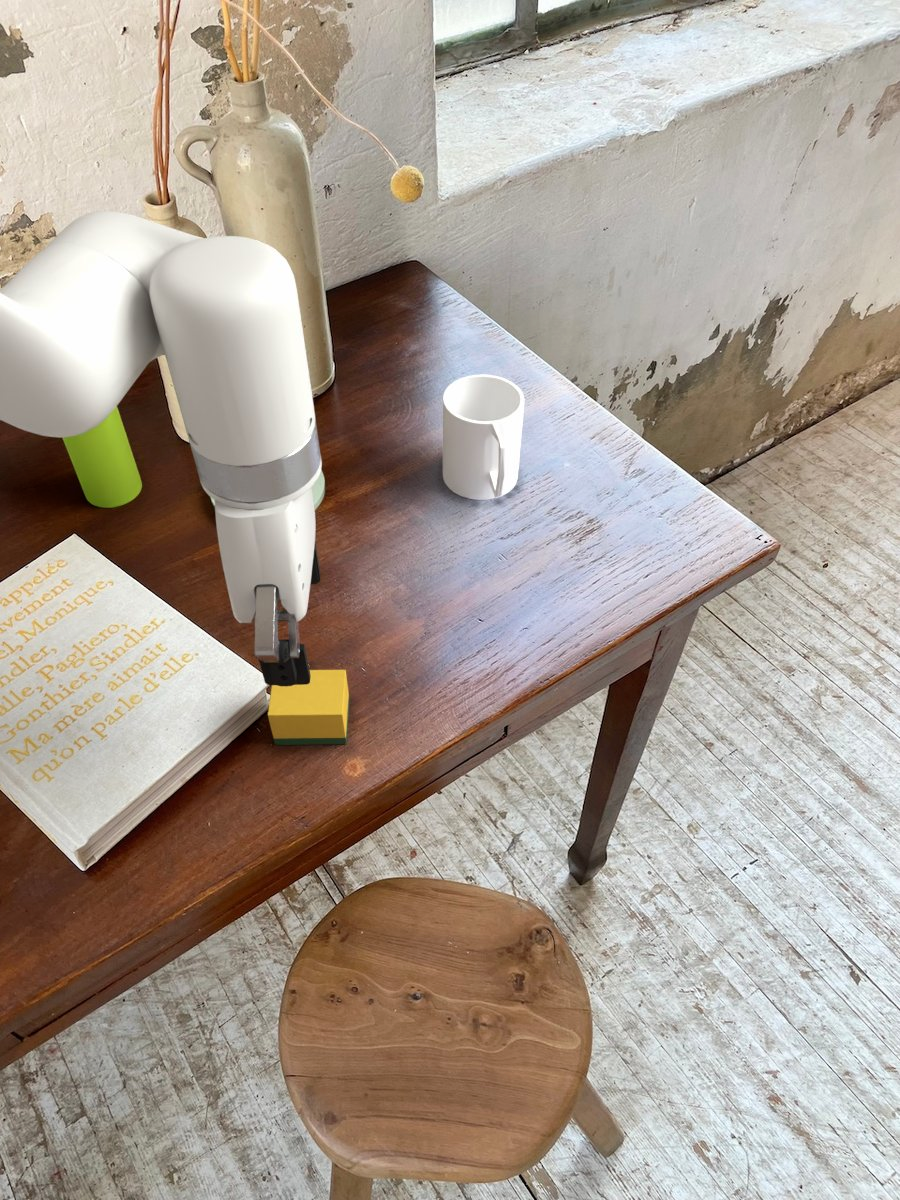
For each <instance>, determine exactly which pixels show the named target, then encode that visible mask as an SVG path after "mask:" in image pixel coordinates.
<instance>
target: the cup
mask: <svg viewBox="0 0 900 1200" xmlns="http://www.w3.org/2000/svg"><path fill="white" fill-rule="evenodd" d="M524 412H525V395H524V393H523V391H522V389H521V388H520V387H519V386H518V385H517V384H516V383H514V382H512V381H511V380H509V379H507V378H505V377H502V376H498V375H493V374H483V373H482V374H471V375H466V376H463V377H460V378H458V379H456V380H454V381H453V382H452V383H450V384H449V385H448V386H447V387H446V389H445V390H444V392H443V396H442V479H443V481H444V484H445V485H446V487H447V488H448V489H449V490H450V491H451V492H453V493H454V494H456V495H457V496H459V497H463V498H465V499H470V500H473V501H488V500H494V499H498V498H500V497H503V496H505V495H506V494H508V493H510V492H511V491H512V490H513V489H514V488H515V486H516V485H517V482H518V479H519V467H520V457H521V456H520V455H521V448H522V447H521V445H522V433H523V423H524Z"/></svg>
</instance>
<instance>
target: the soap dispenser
mask: <svg viewBox="0 0 900 1200" xmlns="http://www.w3.org/2000/svg"><path fill="white" fill-rule="evenodd" d="M61 438H62V440H63V443H64V445H65V448H66V451H67V453H68V456H69V458H70V462H71V464H72V466H73V469H74V471H75V474H76V477H77V479H78V481H79V484H80V487H81V489H82V491H83V494H84V496H85V499H86V500H87V502H89V504H91V505H93V506H95V507H98V508H104V509H110V508H118V507H120V506H124V505H127V504H129V503H130V502H132V501H133V500H134V499H136V498H137V497H138V496H139V494H140V493H141V491H142V488H143V482H142V479H141V475H140V472H139V469H138V467H137V463H136V460H135V457H134V454H133V451H132V448H131V445H130V442H129V438H128V436H127V432H126V430H125V426H124V423H123V421H122V417H121V414H120V411H119V408H118V405H117V406H116V408H115V409H114V410H113V411H112V412H111V413H110V415H109V416H108V417H107V418H106V419H105V420H104V421H103V422H102V423H100V424H99V425H98V426H96V427H95V428H93V429H91V430H89V431H87V432H85V433H83V434H80V435H76V436H71V437H61Z"/></svg>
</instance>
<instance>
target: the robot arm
mask: <svg viewBox="0 0 900 1200" xmlns="http://www.w3.org/2000/svg"><path fill="white" fill-rule="evenodd" d="M306 349H307V348H306V342H305V336H304V330H303V323H302V315H301V308H300V301H299V294H298V288H297V284H296V279H295V275H294V272H293V270H292V268H291V265H290V264H289V262H288V261H287V259H286V258H285V257H284V255H282V254H281V253H280V252H279V251H278V250H277V249H276V248H275V247H273V246H271V245H269V244H267V243H266V242H263V241H261V240H258V239H255V238H252V237H245V236H240V235H239V236H238V235H218V236H210V237H205V238H204V237H201V236H198V235H194V234H190V233H187V232H184V231H181V230H178V229H176V228H172V227H171V226H167V225H164V224H161V223H158V222H156V221H152V220H150V219H146V218H143V217H141V216H137V215H134V214H130V213H126V212H122V211H115V210H97V211H91V212H89V213H88V212H87V213H84V214H83V215H81V216H79V217H77V218H75V219H74V220H73V221H72V222H70V223H69V224H68V225H67V226H65V227H64V228H63V229H62V230H61V231H60V232H59V233H58V234H57V235H56V236H55V237H54V238H52V240H51V241H49V243H48V244H47V245H46V246H45V247H44V248H43V249H42V250H40V251H38V252H37V253H36V254H35V255H34V256H33V257H32V258H31V259H30V260H29V261H28V262H27V263H26V264H25V265H24V266H23V267H22V268H20V270H19V271H17V273H15V275H14V276H13V277H12V278H11V279H9V281H8V282H6V284H5V285H3V287H2V288H0V421H1V422H4V423H6V424H8V425H10V426H13V427H15V428H17V429H20V430H22V431H25V432H28V433H32V434H35V435H37V436H38V435H39V436H42V437H50V438H58V439H59V438H62V437H71V436H76V435H80V434H83V433H85V432H87V431H89V430H91V429H93V428H95V427H96V426H98V425H99V424H100V423H102V422H103V421H104V420H105V419H106V418H107V417H108V416H109V415H110V413H111V412H112V411H113V410H114V409H115V408H116V406H117V407H118V405H119V404H120V403H121V401H122V400H123V399H124V397H125V396H126V394H127V393H128V392H129V391H130V389H131V388H132V386H133V385H134V383H135V382H136V381H137V379H139V378H140V376H141V374H142V373H143V371H145V369H146V368H147V366H148V365H149V364H150V363H151V362H152V361H154V360H156V359H157V358H160V357H162V356H165V361H166V363H167V367H168V370H169V374H170V378H171V381H172V382H171V383H172V385H173V389H174V392H175V396H176V399H177V403H178V406H179V410H180V414H181V417H182V421H183V425H184V428H185V431H186V435H187V438H188V442H189V446H190V449H191V452H192V456H193V460H194V463H195V467H196V471H197V474H198V478H199V482H200V485H201V487H202V489H203V491H204V492H205V493H206V494H207V495H208V496H209V498H210V497H212V498H213V499H214V500H215V510H214V513H215V525H216V533H217V534H216V535H217V541H218V547H219V553H220V558H221V564H222V570H223V573H224V579H225V583H226V588H227V592H228V597H229V600H230V605H231V606H230V607H231V610H232V614H233V617H234V618H235V620H236V621H237V622H238V623H240V624H252V622H253V619H254V655H255V658H256V659H257V660H258V663H259V666H260V669H261V673H262V676H263V677H262V678H263V681H264V683H265V684H266V685H267V686H272V685H277V686H293V685H307V684H309V683H310V677H311V675H310V670H311V669H310V665H309V659H308V655H307V650H306V645H305V644H304V643H301V642H300V624H299V622H300V621H302V619H303V618H305V616H306V615H307V611H308V608H309V607H308V606H309V600H310V599H309V598H310V592H311V585H317V584H319V583H320V582H321V578H322V577H321V576H322V574H321V567H320V562H319V561H320V560H319V556H318V549H317V544H316V531H317V529H316V528H317V527H316V526H317V525H316V510H315V509H314V501H313V494H312V488H311V487H312V486H313V485H314V483H315V482H316V481H317V479H318V477H319V475H320V472H321V470H322V468H323V467H322V466H323V461H322V455H321V448H320V441H319V434H318V433H319V432H318V427H317V420H316V413H315V405H314V399H313V392H312V391H313V390H312V385H311V377H310V370H309V364H308V356H307V350H306ZM279 601H280V604H281V606H282V607H283V608H284V609H279ZM279 622H287V628H288V629H287V630H288V639H287V638H286V639H279V634H278V633H279V632H278V631H279Z"/></svg>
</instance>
